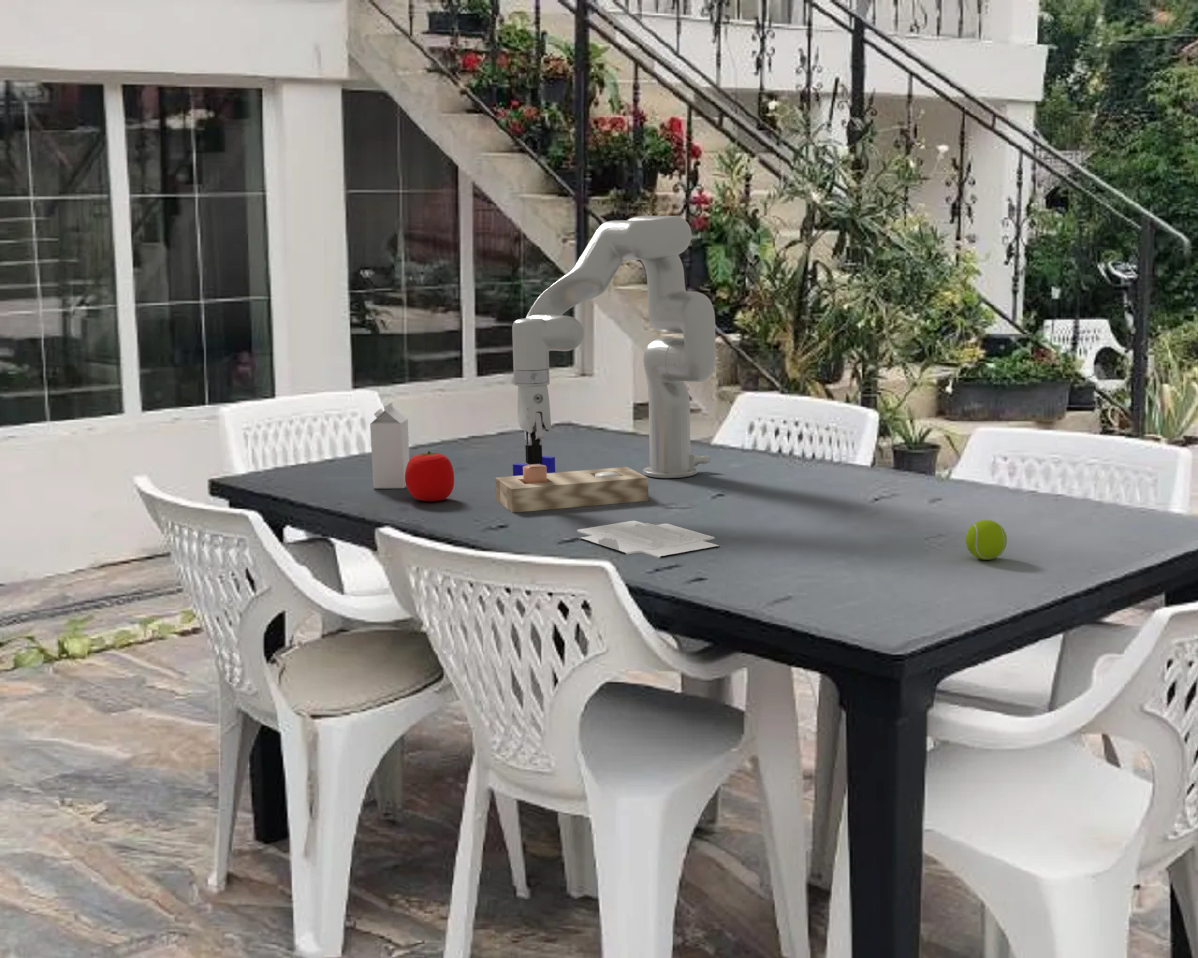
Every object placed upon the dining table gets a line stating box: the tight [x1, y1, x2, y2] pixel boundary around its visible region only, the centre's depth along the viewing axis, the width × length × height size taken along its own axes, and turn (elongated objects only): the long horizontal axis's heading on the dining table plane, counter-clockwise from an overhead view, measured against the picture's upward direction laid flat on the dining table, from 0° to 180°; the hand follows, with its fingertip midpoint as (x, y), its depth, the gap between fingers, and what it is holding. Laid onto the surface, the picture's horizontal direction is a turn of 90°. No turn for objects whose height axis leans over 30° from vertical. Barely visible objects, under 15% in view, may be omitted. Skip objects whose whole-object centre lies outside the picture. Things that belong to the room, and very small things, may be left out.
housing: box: [494, 466, 649, 513], centre depth 327 cm, size 30×14×5 cm, turn 108°
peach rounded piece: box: [523, 464, 547, 484], centre depth 324 cm, size 5×5×5 cm
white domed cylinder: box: [595, 472, 618, 478], centre depth 329 cm, size 5×5×5 cm
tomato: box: [405, 450, 455, 502], centre depth 330 cm, size 10×11×11 cm
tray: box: [576, 520, 721, 559], centre depth 289 cm, size 20×28×4 cm
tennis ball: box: [965, 519, 1008, 561], centre depth 267 cm, size 7×7×7 cm
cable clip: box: [512, 455, 556, 476], centre depth 345 cm, size 12×4×6 cm, turn 146°
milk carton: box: [369, 401, 411, 489], centre depth 347 cm, size 7×7×19 cm
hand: (534, 463), depth 323 cm, fingers closed
